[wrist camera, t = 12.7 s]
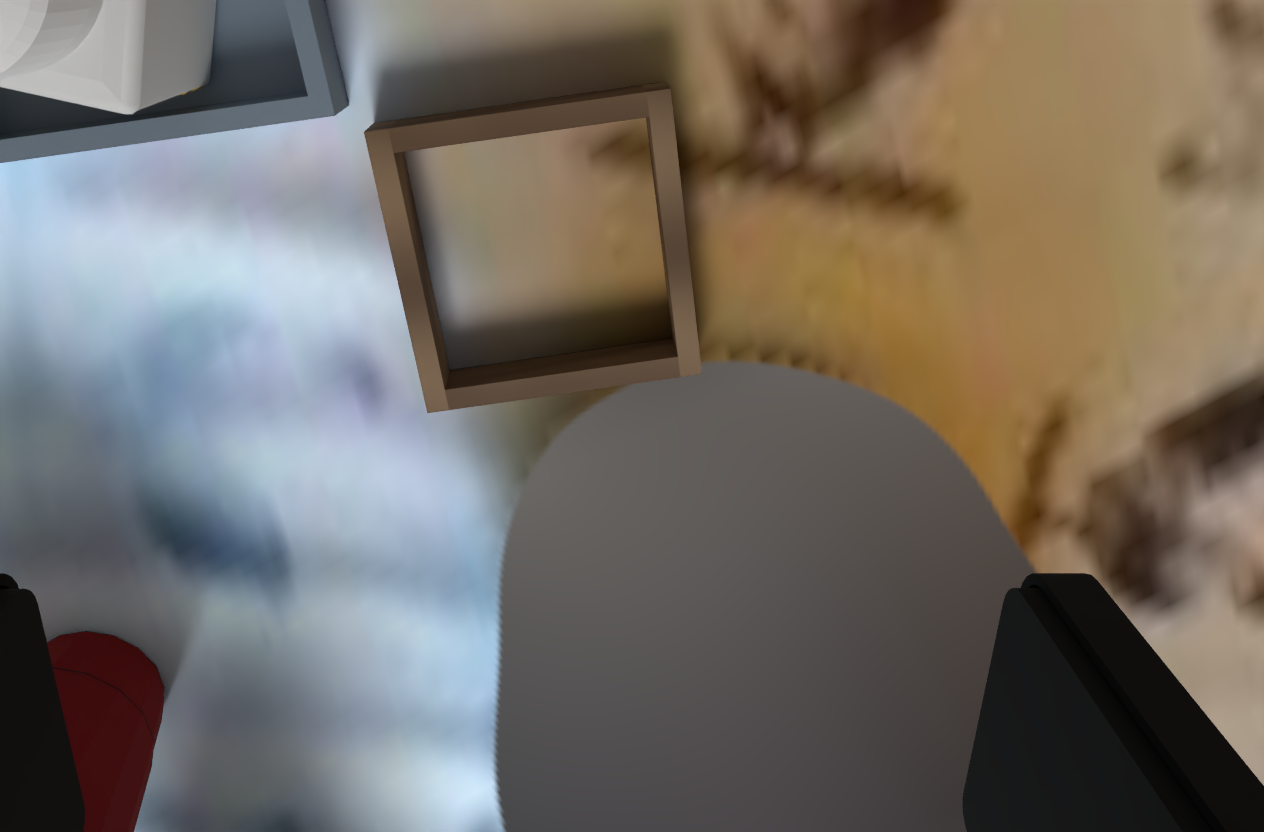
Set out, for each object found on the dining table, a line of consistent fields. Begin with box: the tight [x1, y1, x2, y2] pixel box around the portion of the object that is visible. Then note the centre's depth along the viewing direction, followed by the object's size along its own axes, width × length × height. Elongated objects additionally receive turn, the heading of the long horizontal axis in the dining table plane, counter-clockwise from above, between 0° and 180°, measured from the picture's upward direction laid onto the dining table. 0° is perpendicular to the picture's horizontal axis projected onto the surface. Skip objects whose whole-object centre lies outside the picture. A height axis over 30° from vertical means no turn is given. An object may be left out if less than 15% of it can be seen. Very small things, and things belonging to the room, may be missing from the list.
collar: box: [364, 82, 702, 413], centre depth 38 cm, size 10×10×2 cm
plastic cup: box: [47, 631, 164, 832], centre depth 40 cm, size 11×11×12 cm
